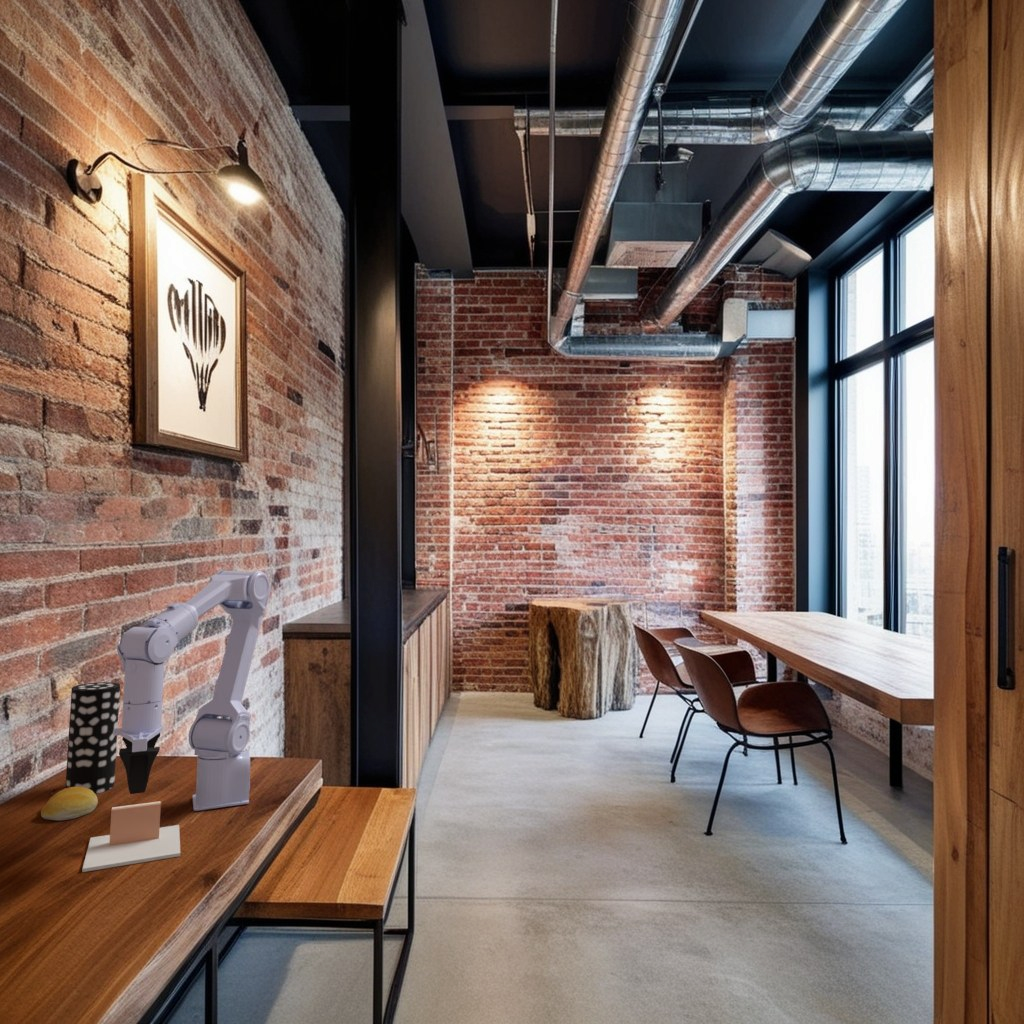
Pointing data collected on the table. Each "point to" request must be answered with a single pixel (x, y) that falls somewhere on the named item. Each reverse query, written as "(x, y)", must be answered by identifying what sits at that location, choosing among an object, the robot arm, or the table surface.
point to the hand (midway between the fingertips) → (138, 785)
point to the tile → (135, 823)
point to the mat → (132, 850)
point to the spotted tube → (93, 736)
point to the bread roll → (70, 804)
